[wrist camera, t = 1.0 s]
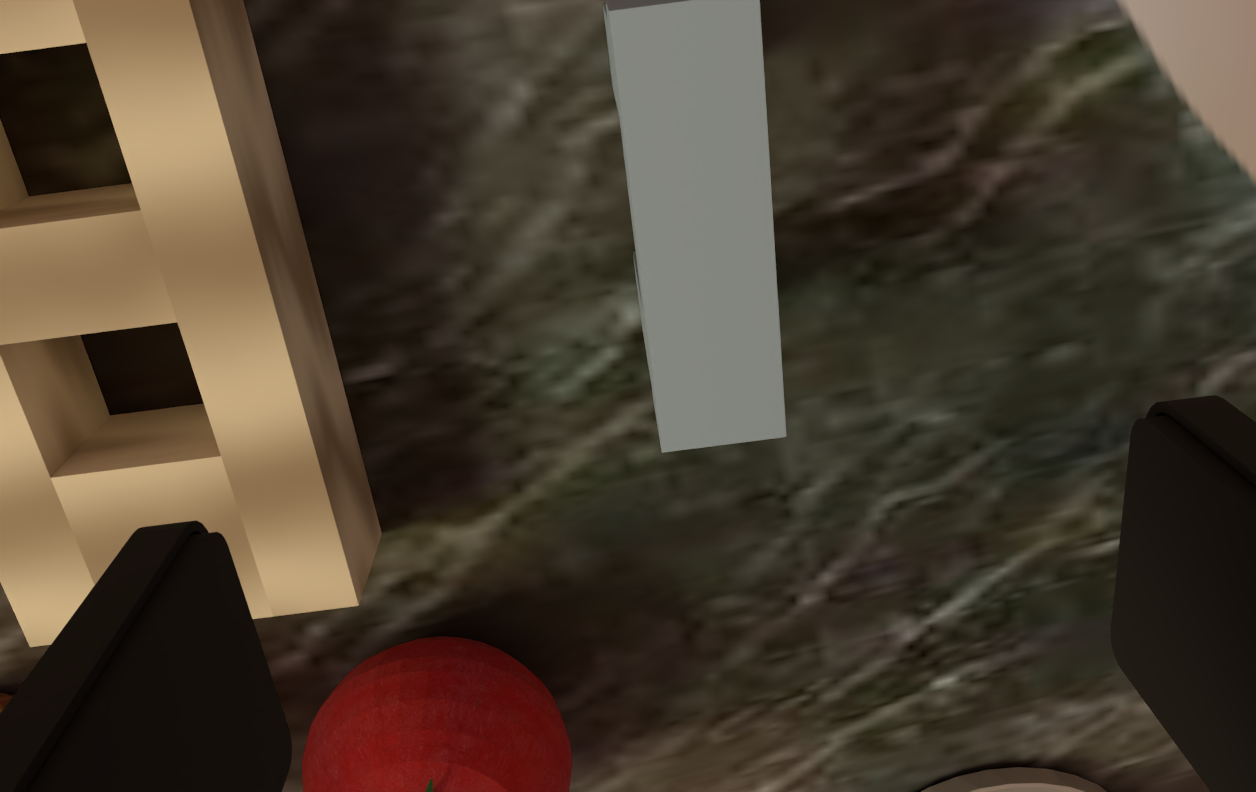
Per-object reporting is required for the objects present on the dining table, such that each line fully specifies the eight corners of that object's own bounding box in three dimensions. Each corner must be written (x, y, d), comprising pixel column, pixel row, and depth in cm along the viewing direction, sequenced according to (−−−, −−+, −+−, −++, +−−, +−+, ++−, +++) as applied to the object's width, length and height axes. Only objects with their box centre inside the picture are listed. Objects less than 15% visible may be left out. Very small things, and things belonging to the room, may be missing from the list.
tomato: (403, 550, 35) (358, 716, 28) (619, 661, 37) (629, 840, 30) (285, 722, 38) (216, 913, 30) (492, 814, 40) (474, 1012, 33)
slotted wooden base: (381, 533, 34) (358, 605, 31) (87, 571, 35) (30, 647, 31) (185, -222, 25) (119, -247, 22) (-216, -169, 25) (-349, -184, 22)
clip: (738, 319, 32) (786, 436, 25) (642, 332, 32) (661, 452, 25) (711, -27, 28) (759, -9, 20) (600, -12, 28) (609, 10, 20)
